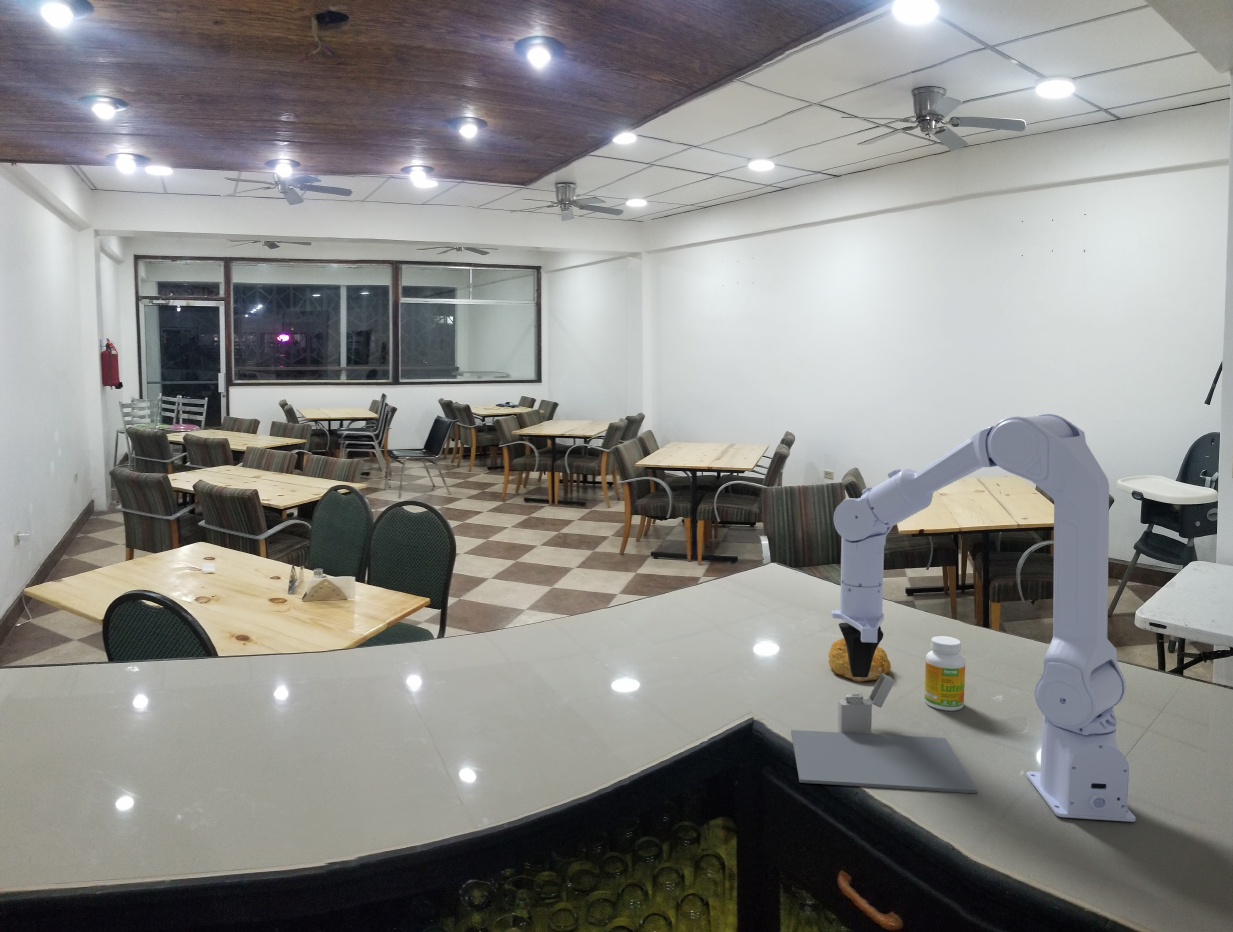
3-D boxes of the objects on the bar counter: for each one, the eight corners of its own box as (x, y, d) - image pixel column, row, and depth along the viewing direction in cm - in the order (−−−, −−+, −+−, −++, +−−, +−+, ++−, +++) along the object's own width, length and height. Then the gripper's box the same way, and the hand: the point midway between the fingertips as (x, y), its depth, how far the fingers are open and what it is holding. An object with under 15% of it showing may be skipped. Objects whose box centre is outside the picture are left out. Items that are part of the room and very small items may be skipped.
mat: (976, 793, 91) (976, 789, 91) (799, 782, 94) (799, 779, 93) (945, 740, 104) (945, 737, 104) (791, 732, 107) (791, 729, 107)
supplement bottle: (940, 713, 112) (942, 647, 111) (916, 699, 118) (918, 636, 117) (972, 708, 114) (974, 644, 113) (947, 694, 119) (949, 632, 118)
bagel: (829, 681, 125) (830, 652, 125) (826, 658, 136) (827, 631, 135) (894, 687, 123) (896, 657, 123) (887, 663, 134) (888, 636, 133)
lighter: (841, 735, 106) (842, 678, 105) (837, 729, 108) (838, 673, 107) (893, 734, 106) (894, 677, 105) (888, 728, 108) (890, 672, 107)
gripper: (826, 569, 118) (824, 656, 119) (839, 595, 104) (837, 693, 105) (874, 570, 117) (872, 658, 118) (894, 596, 103) (892, 696, 104)
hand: (859, 675), depth 112 cm, fingers closed
